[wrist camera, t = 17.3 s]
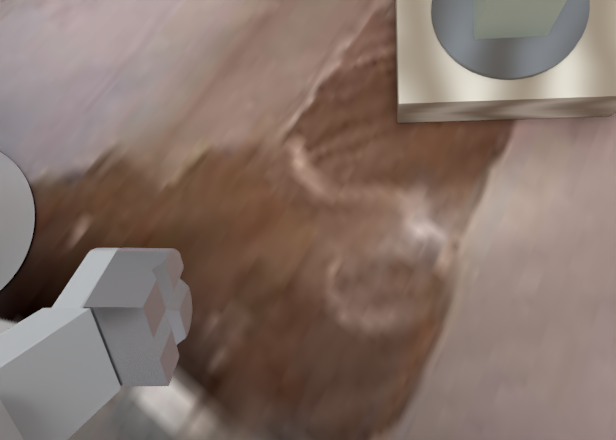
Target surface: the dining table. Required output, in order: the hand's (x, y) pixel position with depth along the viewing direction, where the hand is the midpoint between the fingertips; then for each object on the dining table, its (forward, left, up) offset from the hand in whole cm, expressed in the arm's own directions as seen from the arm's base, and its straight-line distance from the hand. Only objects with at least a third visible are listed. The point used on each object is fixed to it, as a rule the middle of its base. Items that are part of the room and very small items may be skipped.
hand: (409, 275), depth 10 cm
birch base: (+9, +22, -34) cm, 42 cm away
